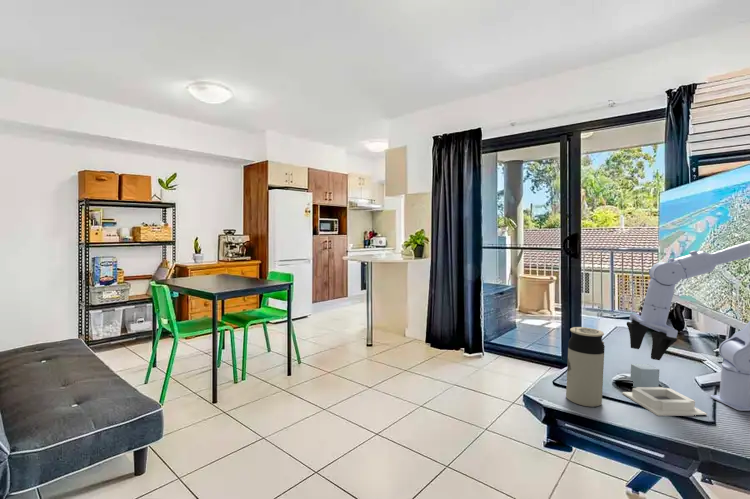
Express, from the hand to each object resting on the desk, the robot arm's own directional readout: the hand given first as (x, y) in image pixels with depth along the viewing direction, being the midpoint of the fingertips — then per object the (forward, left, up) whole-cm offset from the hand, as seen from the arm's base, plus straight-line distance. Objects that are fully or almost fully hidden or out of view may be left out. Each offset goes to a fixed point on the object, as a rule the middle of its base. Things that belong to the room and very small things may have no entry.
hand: (644, 353), depth 104 cm
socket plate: (+2, +9, -10) cm, 14 cm away
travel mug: (+21, +7, -10) cm, 25 cm away
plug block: (-1, -1, -10) cm, 10 cm away
